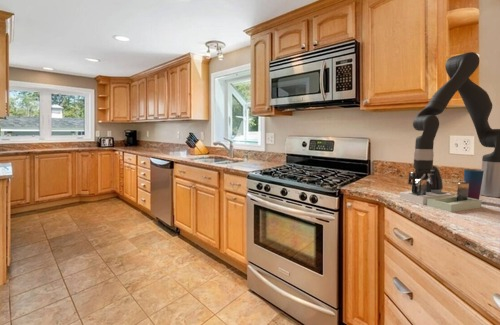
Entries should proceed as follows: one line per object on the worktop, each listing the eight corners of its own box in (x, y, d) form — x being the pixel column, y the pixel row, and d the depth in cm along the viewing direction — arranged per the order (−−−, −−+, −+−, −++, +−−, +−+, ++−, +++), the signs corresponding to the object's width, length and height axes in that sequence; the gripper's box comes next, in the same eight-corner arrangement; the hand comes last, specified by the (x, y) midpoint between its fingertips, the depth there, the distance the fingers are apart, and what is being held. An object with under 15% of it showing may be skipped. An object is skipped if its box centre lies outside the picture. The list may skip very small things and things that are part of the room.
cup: (461, 199, 126) (464, 168, 124) (480, 201, 122) (483, 169, 120) (461, 202, 121) (464, 170, 119) (481, 205, 116) (484, 171, 115)
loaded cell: (460, 203, 117) (461, 180, 116) (469, 205, 114) (471, 181, 112) (454, 204, 116) (455, 180, 115) (463, 206, 112) (465, 182, 111)
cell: (420, 198, 127) (421, 176, 126) (427, 200, 124) (429, 178, 122) (414, 199, 126) (415, 177, 125) (421, 201, 122) (423, 178, 121)
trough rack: (455, 202, 121) (456, 195, 120) (480, 208, 111) (481, 200, 111) (426, 206, 115) (427, 198, 115) (450, 213, 106) (451, 204, 105)
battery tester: (426, 196, 134) (427, 188, 134) (451, 201, 123) (452, 193, 122) (399, 199, 128) (400, 191, 128) (422, 205, 117) (423, 197, 117)
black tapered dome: (422, 196, 134) (424, 166, 132) (416, 191, 144) (417, 164, 142) (445, 197, 131) (448, 166, 129) (438, 192, 141) (439, 164, 139)
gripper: (427, 157, 128) (425, 190, 130) (404, 158, 124) (402, 192, 126) (442, 158, 121) (440, 193, 123) (419, 160, 117) (417, 196, 119)
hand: (421, 192), depth 124 cm, fingers open, 8 cm apart
